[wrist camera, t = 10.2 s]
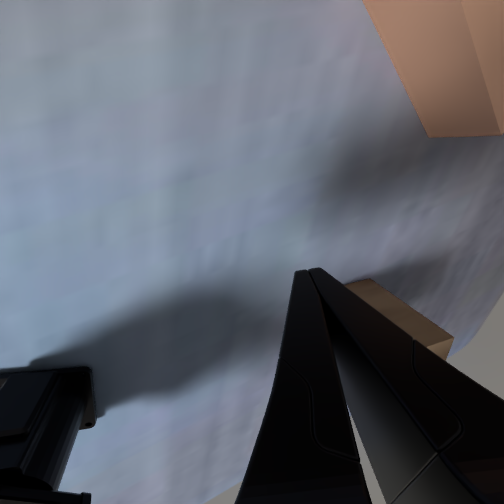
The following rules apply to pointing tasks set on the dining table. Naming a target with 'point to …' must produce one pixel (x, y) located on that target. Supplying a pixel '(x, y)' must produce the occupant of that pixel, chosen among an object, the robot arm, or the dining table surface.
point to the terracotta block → (447, 61)
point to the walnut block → (404, 316)
